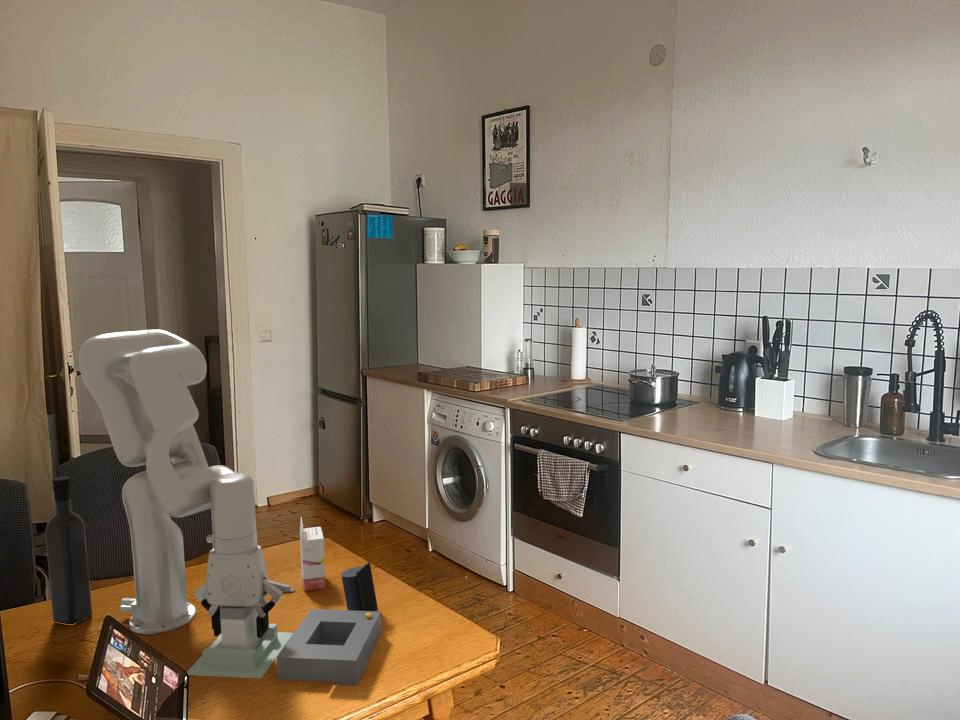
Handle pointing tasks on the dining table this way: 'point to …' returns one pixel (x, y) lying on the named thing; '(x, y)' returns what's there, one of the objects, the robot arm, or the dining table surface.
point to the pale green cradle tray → (241, 657)
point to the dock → (330, 646)
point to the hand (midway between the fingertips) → (240, 633)
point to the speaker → (359, 589)
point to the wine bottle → (67, 559)
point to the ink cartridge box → (312, 558)
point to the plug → (239, 627)
